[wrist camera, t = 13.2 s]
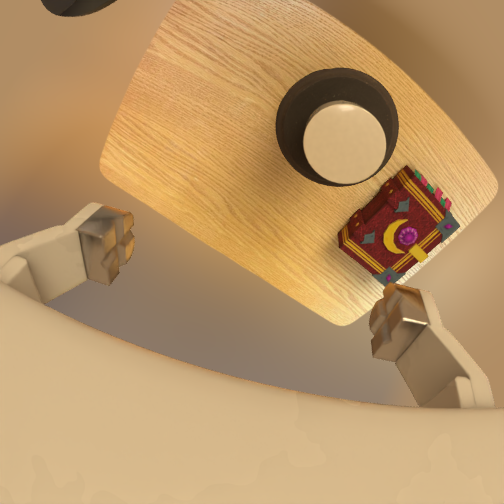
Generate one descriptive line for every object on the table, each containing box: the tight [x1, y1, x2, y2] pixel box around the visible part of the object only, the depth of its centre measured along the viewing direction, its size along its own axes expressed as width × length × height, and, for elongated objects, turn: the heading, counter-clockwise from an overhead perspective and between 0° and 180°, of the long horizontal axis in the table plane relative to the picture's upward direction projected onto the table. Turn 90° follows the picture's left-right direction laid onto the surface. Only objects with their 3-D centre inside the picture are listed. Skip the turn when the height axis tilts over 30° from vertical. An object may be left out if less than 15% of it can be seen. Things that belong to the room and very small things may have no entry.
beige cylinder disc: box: [303, 100, 386, 184], centre depth 17 cm, size 5×5×3 cm
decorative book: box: [338, 165, 460, 287], centre depth 39 cm, size 11×16×5 cm
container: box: [276, 68, 399, 187], centre depth 26 cm, size 9×9×20 cm
